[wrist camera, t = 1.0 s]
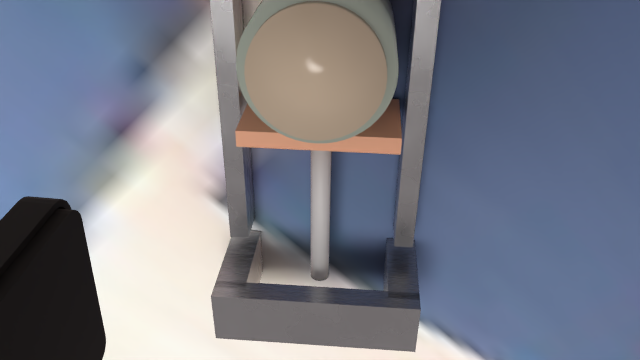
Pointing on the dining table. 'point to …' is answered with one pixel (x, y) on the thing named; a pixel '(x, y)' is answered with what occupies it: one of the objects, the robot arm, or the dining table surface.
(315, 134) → the jar resting
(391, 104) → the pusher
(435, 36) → the lane
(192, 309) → the dining table surface
